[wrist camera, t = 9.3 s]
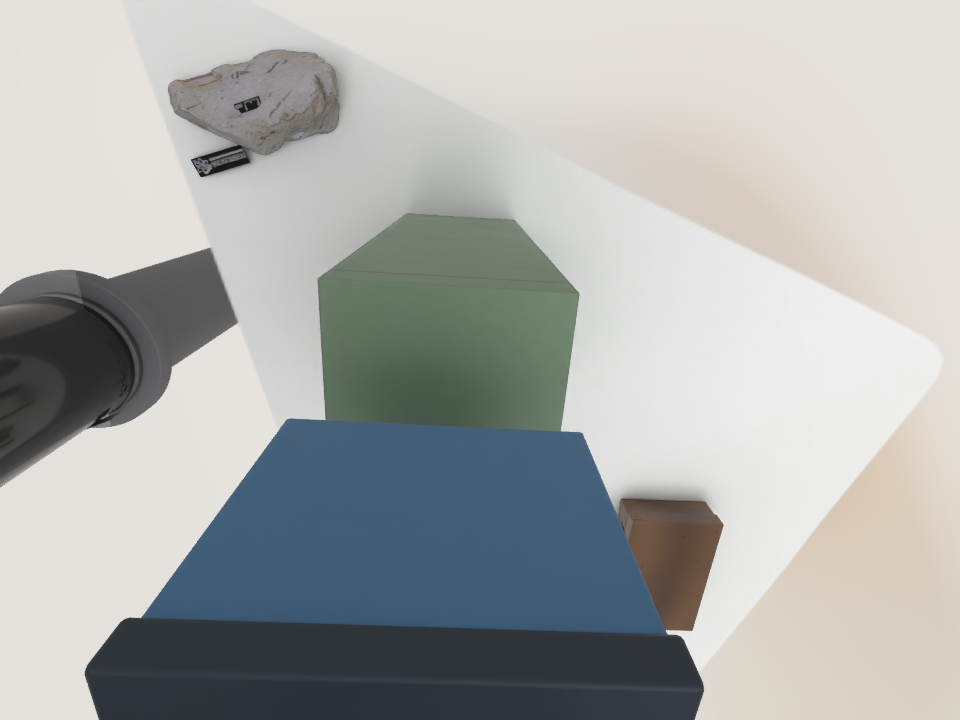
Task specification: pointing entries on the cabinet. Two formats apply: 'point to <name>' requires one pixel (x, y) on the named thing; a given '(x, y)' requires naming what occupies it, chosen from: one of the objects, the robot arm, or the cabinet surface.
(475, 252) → the high shelf
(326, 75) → the grey tagged lumpy block
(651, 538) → the brown footstool
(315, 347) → the cabinet surface
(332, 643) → the box
